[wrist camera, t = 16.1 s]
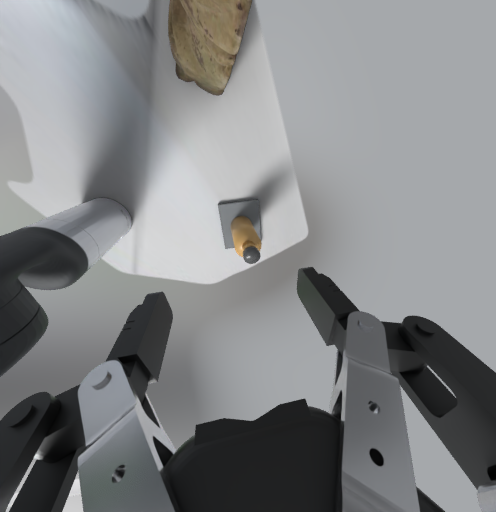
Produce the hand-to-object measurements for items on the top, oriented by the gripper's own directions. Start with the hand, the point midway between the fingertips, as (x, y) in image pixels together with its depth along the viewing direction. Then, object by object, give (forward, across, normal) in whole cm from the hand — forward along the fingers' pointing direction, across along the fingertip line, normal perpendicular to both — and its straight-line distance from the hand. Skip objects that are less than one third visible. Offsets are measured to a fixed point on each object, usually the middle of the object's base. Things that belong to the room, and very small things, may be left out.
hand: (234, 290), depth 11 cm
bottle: (+35, -4, +10) cm, 37 cm away
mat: (+36, -4, +10) cm, 38 cm away
